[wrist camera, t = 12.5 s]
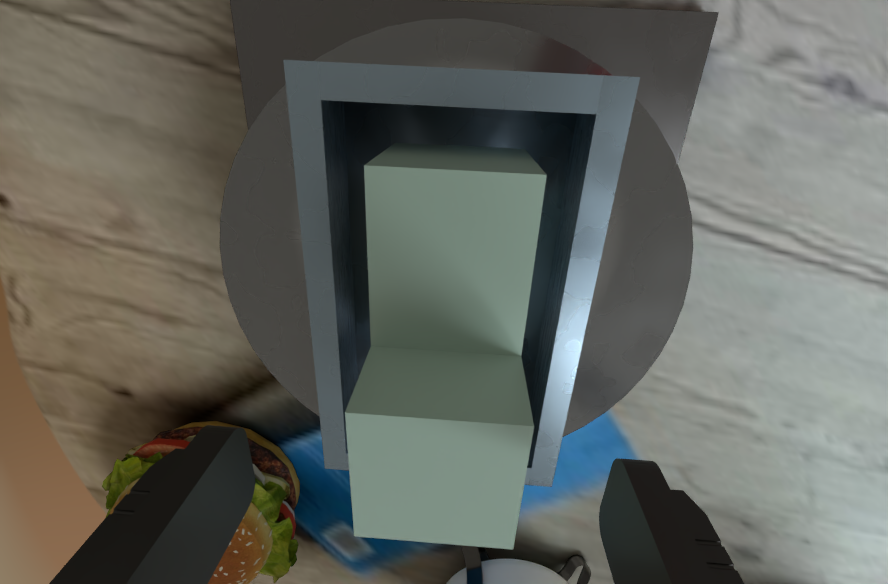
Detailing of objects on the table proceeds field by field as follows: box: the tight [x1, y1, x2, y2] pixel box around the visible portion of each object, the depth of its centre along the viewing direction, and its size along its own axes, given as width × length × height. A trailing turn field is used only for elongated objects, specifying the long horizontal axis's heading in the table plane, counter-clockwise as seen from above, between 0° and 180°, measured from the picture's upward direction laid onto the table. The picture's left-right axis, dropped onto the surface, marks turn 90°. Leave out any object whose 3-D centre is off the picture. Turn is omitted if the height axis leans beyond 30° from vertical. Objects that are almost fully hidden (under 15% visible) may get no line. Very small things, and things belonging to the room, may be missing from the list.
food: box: [102, 421, 300, 584], centre depth 32 cm, size 14×14×8 cm
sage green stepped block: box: [345, 143, 547, 549], centre depth 14 cm, size 5×10×8 cm, turn 178°
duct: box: [220, 0, 719, 487], centre depth 20 cm, size 22×22×10 cm
